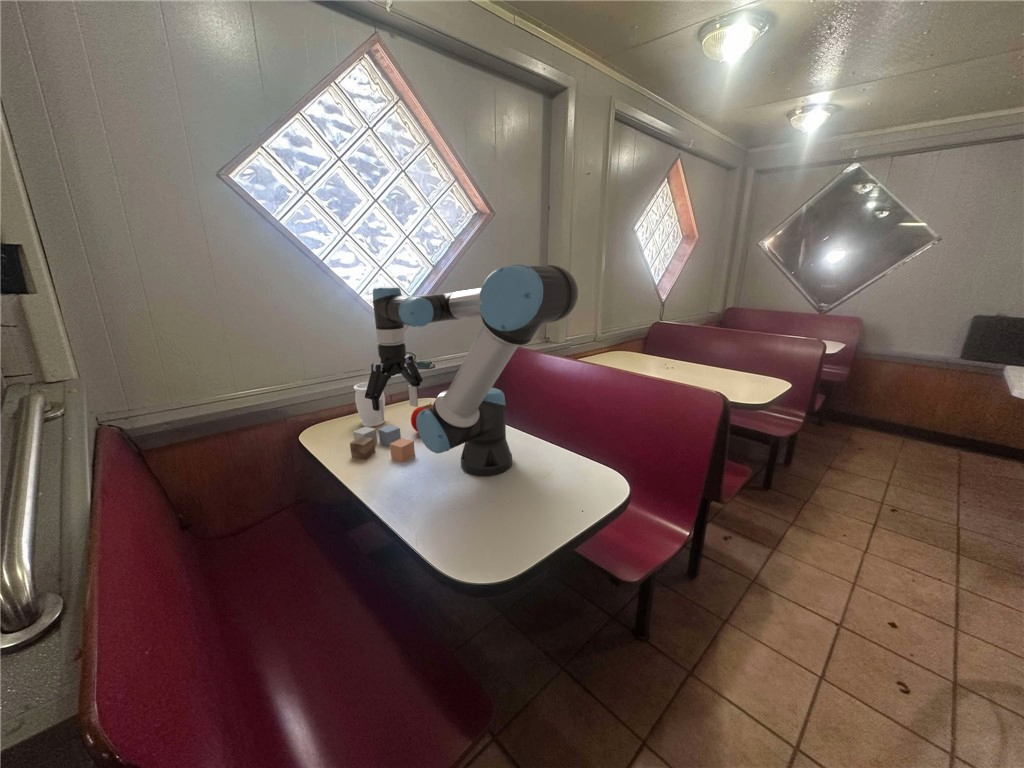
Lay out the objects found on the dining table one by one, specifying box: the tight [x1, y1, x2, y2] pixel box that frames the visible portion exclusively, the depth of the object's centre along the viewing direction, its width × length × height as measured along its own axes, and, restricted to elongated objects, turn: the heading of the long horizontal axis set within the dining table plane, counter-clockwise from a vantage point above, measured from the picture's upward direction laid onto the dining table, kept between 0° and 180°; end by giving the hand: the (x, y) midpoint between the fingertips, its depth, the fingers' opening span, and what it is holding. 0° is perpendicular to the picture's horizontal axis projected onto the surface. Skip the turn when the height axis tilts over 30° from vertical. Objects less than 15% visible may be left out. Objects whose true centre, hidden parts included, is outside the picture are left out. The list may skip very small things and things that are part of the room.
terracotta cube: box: [389, 437, 416, 463], centre depth 121 cm, size 5×5×5 cm
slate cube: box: [377, 424, 402, 447], centre depth 132 cm, size 5×5×5 cm
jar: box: [353, 381, 386, 428], centre depth 148 cm, size 11×10×15 cm
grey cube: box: [352, 426, 378, 445], centre depth 131 cm, size 5×5×5 cm
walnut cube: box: [349, 437, 376, 461], centre depth 123 cm, size 5×5×5 cm
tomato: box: [410, 402, 433, 433], centre depth 139 cm, size 11×13×10 cm
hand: (397, 412), depth 118 cm, fingers open, 13 cm apart
